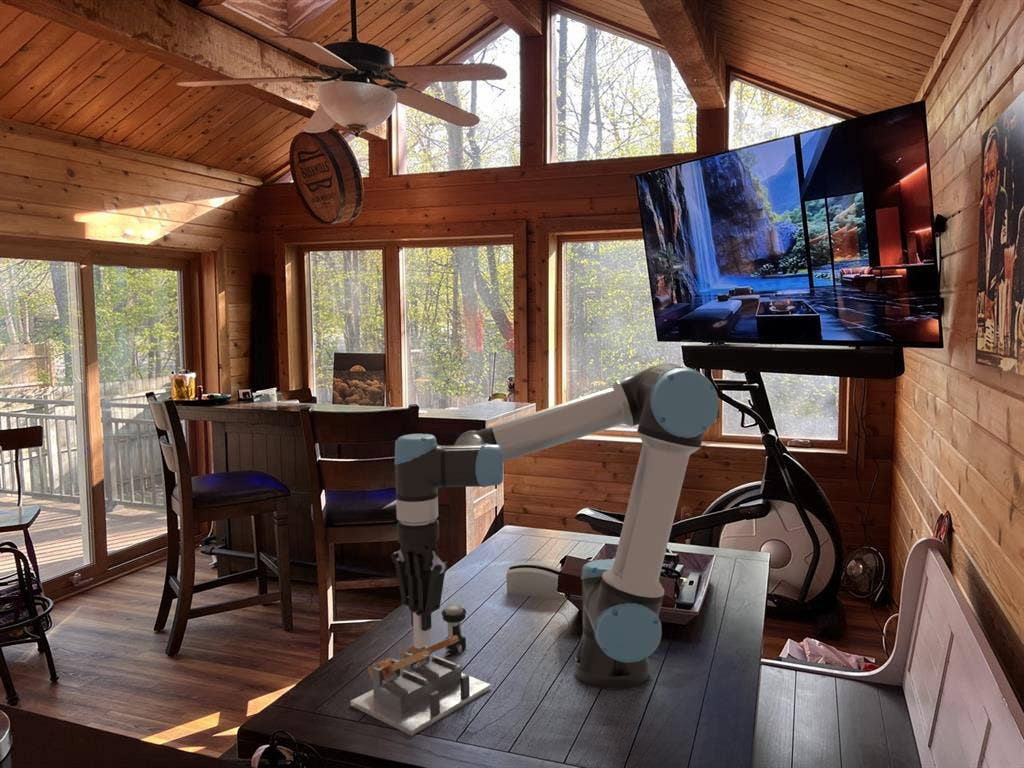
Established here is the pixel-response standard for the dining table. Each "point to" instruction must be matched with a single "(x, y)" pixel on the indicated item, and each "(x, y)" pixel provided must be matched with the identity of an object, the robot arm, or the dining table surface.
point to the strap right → (429, 648)
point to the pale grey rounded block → (533, 580)
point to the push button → (454, 628)
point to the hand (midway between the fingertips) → (422, 645)
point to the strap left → (396, 664)
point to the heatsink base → (421, 710)
